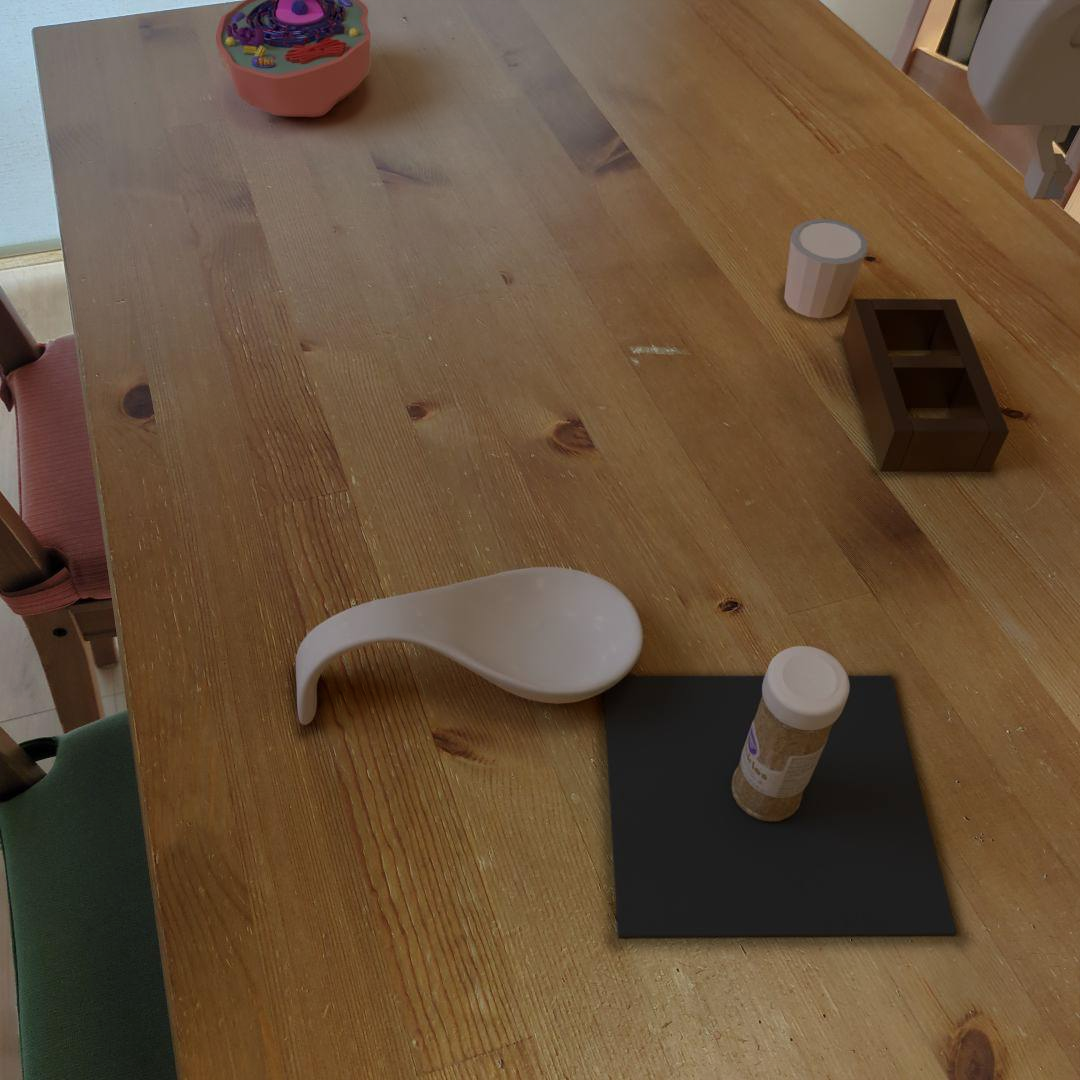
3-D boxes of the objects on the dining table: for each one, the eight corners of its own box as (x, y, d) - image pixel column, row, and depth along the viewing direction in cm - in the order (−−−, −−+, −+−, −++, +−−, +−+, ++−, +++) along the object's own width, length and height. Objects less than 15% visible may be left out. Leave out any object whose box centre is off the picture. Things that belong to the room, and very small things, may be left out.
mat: (888, 681, 78) (891, 675, 77) (953, 938, 66) (957, 933, 65) (602, 682, 77) (603, 675, 77) (617, 941, 66) (618, 936, 65)
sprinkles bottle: (718, 772, 72) (753, 655, 62) (781, 751, 73) (825, 633, 63) (750, 834, 69) (792, 723, 59) (815, 812, 70) (867, 698, 60)
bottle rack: (939, 343, 101) (956, 298, 97) (988, 475, 91) (1009, 431, 87) (840, 342, 101) (853, 298, 97) (879, 475, 90) (895, 431, 87)
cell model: (199, 136, 121) (175, 33, 113) (267, 50, 134) (250, -49, 125) (347, 157, 119) (334, 53, 110) (402, 68, 132) (394, -31, 123)
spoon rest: (617, 590, 82) (620, 518, 78) (661, 714, 74) (668, 642, 69) (295, 642, 79) (277, 571, 74) (303, 778, 71) (283, 708, 66)
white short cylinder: (842, 280, 107) (859, 217, 102) (857, 326, 102) (876, 262, 97) (771, 280, 107) (785, 217, 101) (783, 326, 102) (798, 263, 97)
